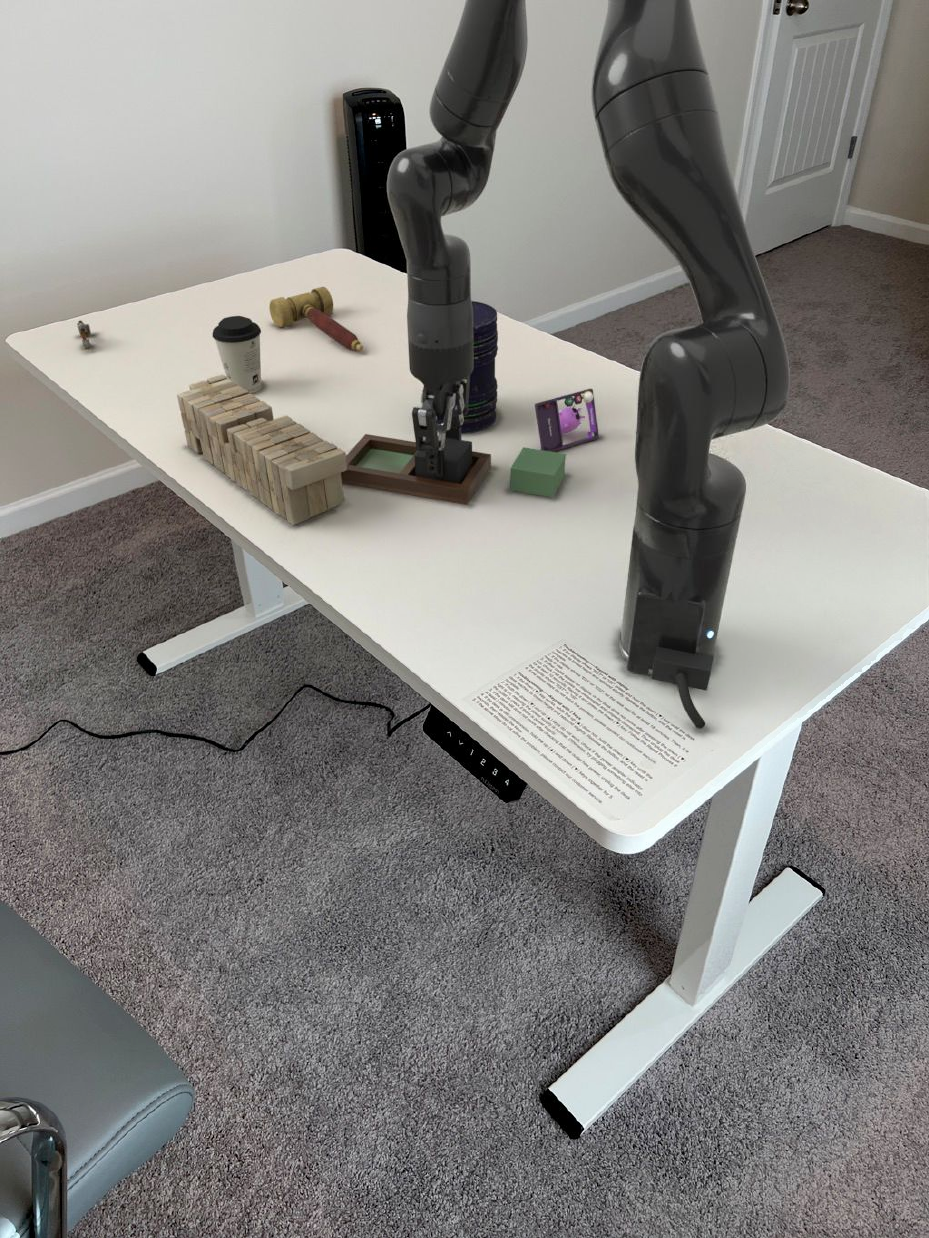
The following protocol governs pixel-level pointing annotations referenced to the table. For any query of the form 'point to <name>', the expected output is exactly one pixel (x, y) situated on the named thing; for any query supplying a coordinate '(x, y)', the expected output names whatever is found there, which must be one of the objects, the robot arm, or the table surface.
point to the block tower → (262, 449)
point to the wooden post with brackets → (84, 333)
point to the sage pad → (537, 472)
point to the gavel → (313, 315)
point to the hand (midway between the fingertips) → (444, 462)
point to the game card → (564, 420)
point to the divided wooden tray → (407, 470)
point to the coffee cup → (240, 351)
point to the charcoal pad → (448, 461)
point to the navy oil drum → (482, 371)
